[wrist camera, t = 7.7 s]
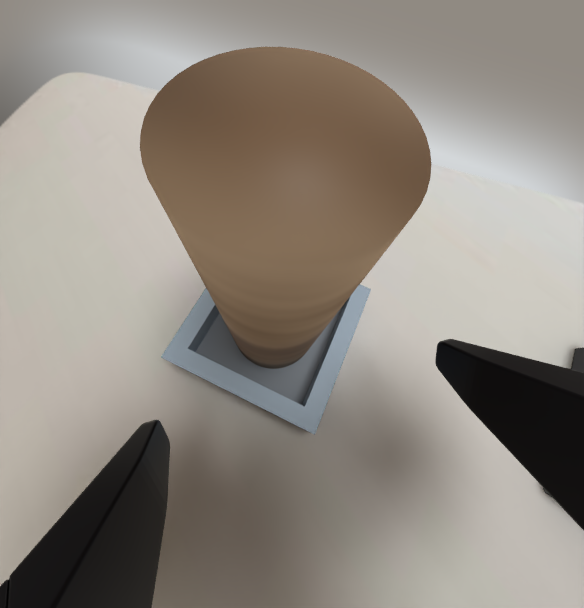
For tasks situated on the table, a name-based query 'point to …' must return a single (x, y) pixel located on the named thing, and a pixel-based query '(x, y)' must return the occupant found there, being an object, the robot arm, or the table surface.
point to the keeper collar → (264, 381)
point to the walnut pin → (283, 186)
